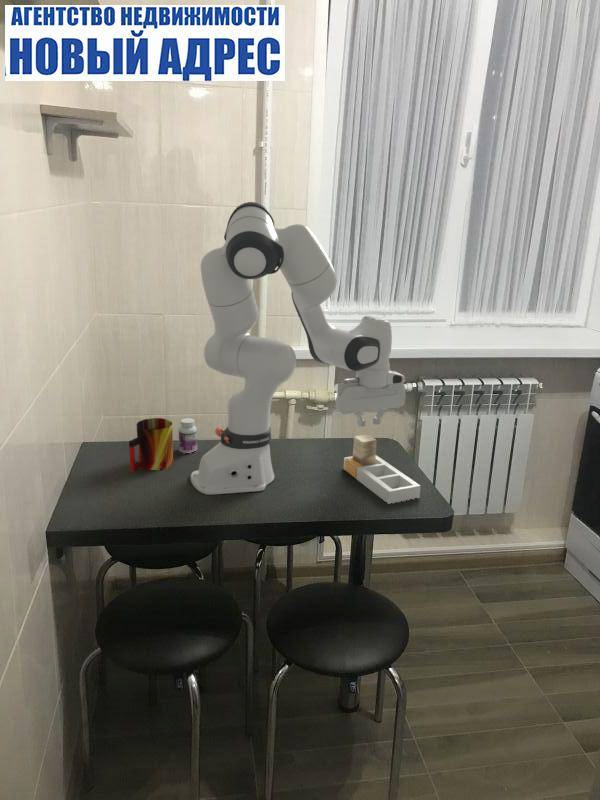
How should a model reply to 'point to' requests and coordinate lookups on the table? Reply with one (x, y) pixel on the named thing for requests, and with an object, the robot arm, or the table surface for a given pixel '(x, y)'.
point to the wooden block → (364, 450)
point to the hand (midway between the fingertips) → (368, 425)
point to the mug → (152, 445)
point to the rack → (383, 480)
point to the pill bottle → (187, 436)
